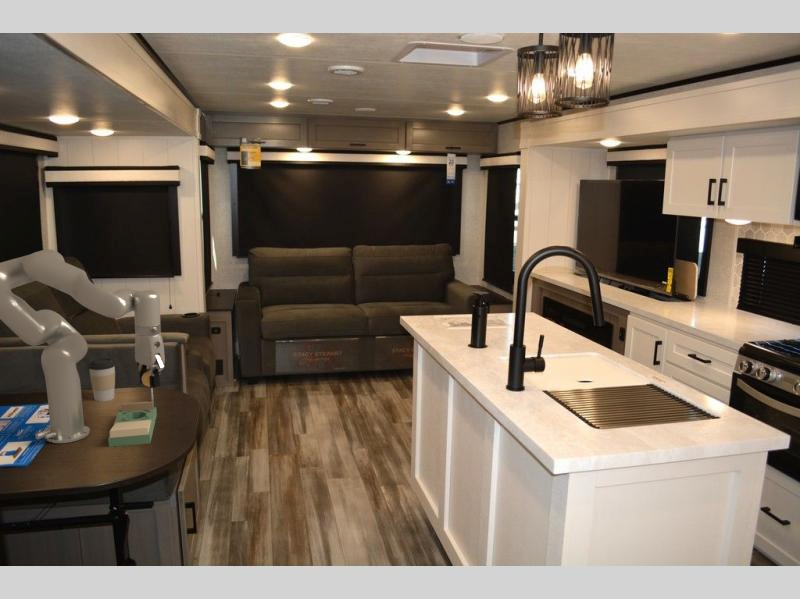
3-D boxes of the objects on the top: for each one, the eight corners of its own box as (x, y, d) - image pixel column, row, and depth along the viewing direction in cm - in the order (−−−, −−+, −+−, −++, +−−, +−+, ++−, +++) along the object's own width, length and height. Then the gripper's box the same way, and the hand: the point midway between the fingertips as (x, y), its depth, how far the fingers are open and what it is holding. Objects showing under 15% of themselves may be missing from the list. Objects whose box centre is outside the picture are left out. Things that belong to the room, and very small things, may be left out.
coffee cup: (112, 392, 246) (109, 354, 243) (121, 398, 240) (118, 360, 237) (87, 397, 240) (84, 359, 237) (96, 404, 233) (93, 364, 230)
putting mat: (150, 443, 202) (147, 401, 199) (108, 447, 199) (105, 404, 196) (157, 414, 225) (154, 376, 223) (120, 416, 222) (117, 378, 219)
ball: (156, 388, 204) (156, 373, 203) (140, 388, 203) (139, 373, 202) (160, 383, 209) (159, 368, 208) (144, 383, 208) (143, 368, 207)
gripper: (174, 332, 200) (175, 388, 204) (143, 323, 210) (145, 376, 214) (152, 337, 194) (154, 394, 198) (122, 327, 204) (124, 381, 208)
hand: (149, 384), depth 206 cm, fingers closed on ball, 4 cm apart
